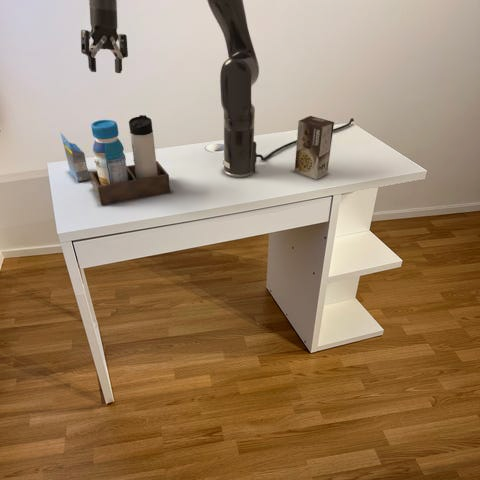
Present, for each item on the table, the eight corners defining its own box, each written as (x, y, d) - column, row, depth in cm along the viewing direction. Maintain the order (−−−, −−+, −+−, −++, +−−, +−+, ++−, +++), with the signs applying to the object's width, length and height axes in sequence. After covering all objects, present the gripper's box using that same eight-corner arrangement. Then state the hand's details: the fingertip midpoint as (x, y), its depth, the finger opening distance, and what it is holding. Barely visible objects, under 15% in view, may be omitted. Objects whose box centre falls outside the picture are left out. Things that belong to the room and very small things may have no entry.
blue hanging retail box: (90, 179, 142) (82, 139, 134) (77, 182, 140) (68, 141, 132) (81, 169, 147) (72, 130, 139) (69, 172, 146) (59, 132, 138)
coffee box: (328, 173, 147) (335, 121, 137) (316, 180, 144) (323, 127, 133) (305, 165, 152) (310, 114, 141) (293, 171, 148) (298, 119, 138)
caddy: (159, 178, 143) (157, 160, 140) (170, 192, 136) (168, 174, 132) (93, 189, 137) (89, 171, 133) (101, 205, 129) (97, 187, 125)
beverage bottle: (127, 200, 131) (116, 129, 118) (98, 200, 131) (83, 128, 118) (133, 187, 138) (123, 118, 125) (105, 187, 138) (92, 118, 125)
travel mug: (161, 183, 140) (154, 115, 127) (156, 193, 135) (148, 123, 122) (141, 182, 141) (132, 114, 127) (135, 192, 136) (125, 122, 122)
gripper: (87, 5, 124) (91, 73, 132) (132, 12, 133) (133, 74, 142) (73, 4, 128) (77, 69, 136) (117, 10, 137) (119, 71, 146)
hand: (106, 72), depth 139 cm, fingers open, 8 cm apart
